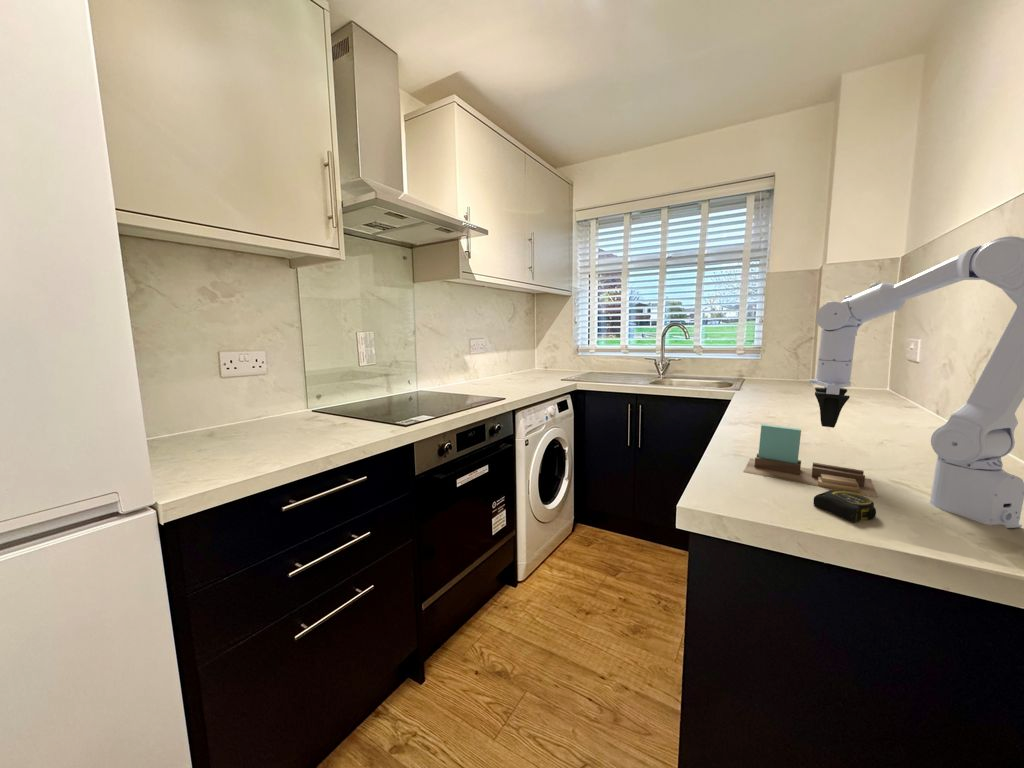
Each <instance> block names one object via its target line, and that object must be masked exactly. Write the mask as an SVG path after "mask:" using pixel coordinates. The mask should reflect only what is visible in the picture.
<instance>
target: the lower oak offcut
mask: <svg viewBox="0 0 1024 768" xmlns="http://www.w3.org/2000/svg"><path fill="white" fill-rule="evenodd" d="M818 485H819V486H824V487H830V488H835V489H840V490H846V491H851V492H856V493H859V485H858V486H857V488H856V487H850V486H844V485H837V484H831V483H825V482H822V481H821V478H820V477H818ZM819 486H818V487H819ZM824 487H823V488H824ZM835 489H834V490H835Z"/></svg>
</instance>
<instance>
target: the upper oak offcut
mask: <svg viewBox="0 0 1024 768" xmlns="http://www.w3.org/2000/svg"><path fill="white" fill-rule="evenodd" d="M820 478H821V481H822V482H825V483H831V484H837V485H844V486H850V487H856V488H857V486H858V483H857V481H856V480H855V479H851V478H845V477H838V476H832V475H825V474H821V476H820Z"/></svg>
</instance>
